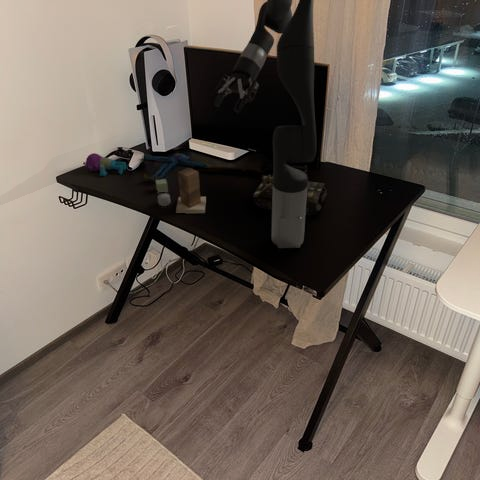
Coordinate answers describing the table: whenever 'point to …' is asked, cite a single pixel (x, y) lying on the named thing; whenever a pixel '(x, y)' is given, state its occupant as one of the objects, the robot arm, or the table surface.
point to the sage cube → (161, 185)
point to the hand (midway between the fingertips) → (225, 108)
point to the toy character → (169, 164)
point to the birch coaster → (195, 209)
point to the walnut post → (189, 187)
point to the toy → (103, 164)
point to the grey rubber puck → (164, 199)
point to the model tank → (314, 194)
